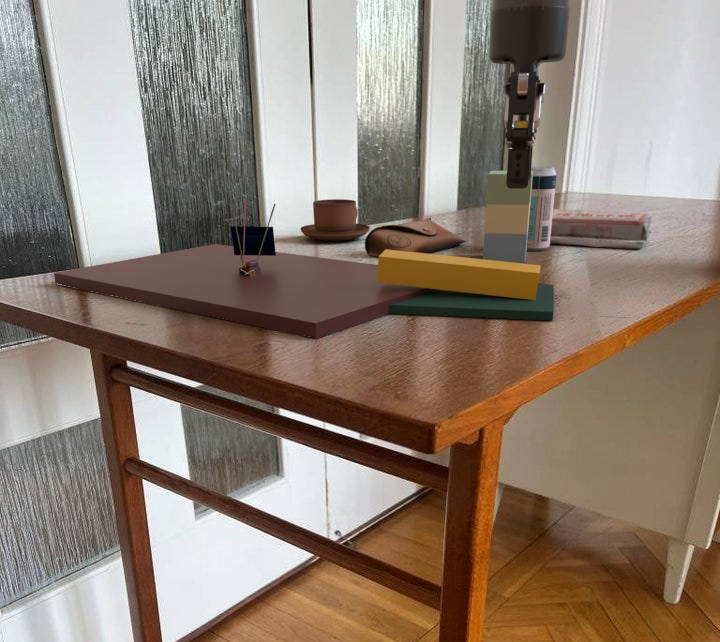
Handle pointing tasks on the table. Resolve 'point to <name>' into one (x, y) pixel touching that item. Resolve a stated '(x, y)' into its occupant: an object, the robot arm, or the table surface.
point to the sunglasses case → (411, 238)
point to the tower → (506, 220)
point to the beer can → (541, 208)
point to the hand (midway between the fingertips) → (518, 184)
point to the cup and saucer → (335, 221)
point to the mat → (479, 305)
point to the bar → (459, 274)
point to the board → (250, 284)
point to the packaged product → (600, 229)
